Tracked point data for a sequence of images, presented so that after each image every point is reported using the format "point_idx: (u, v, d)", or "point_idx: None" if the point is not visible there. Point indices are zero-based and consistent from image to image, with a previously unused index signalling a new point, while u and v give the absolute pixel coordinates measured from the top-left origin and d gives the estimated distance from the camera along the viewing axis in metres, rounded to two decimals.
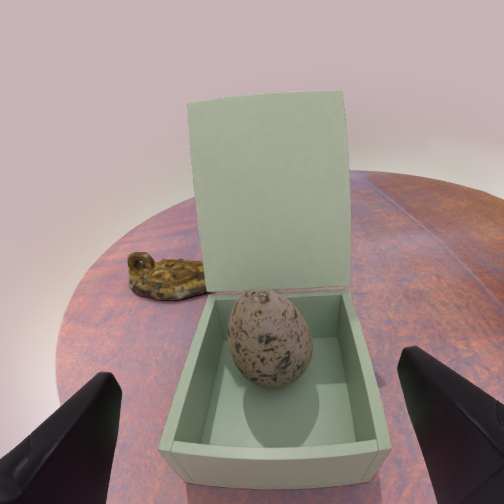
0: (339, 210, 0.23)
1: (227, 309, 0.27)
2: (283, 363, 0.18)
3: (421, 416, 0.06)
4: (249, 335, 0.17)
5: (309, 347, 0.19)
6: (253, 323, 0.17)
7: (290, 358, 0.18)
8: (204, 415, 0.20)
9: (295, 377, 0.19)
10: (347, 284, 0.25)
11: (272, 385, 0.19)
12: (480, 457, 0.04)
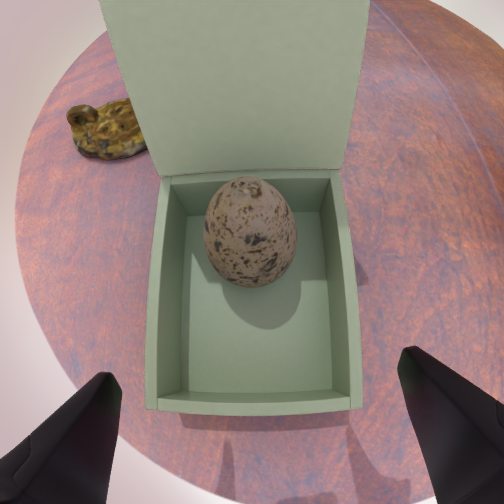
0: (341, 83, 0.14)
1: (186, 191, 0.21)
2: (268, 265, 0.17)
3: (421, 416, 0.06)
4: (234, 234, 0.15)
5: (295, 246, 0.18)
6: (241, 221, 0.14)
7: (276, 260, 0.17)
8: (178, 328, 0.21)
9: (276, 278, 0.19)
10: (338, 167, 0.19)
11: (251, 286, 0.19)
12: (480, 457, 0.04)
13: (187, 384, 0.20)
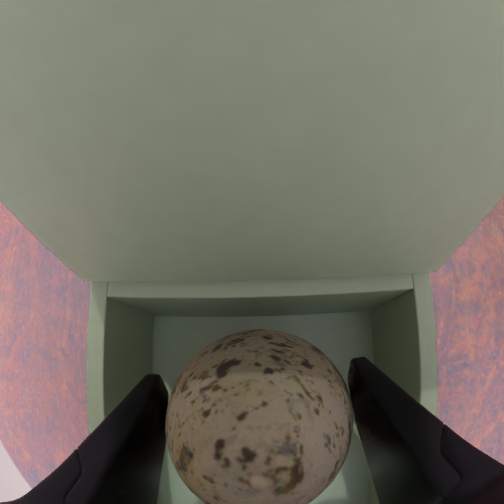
0: None
1: (140, 303, 0.11)
2: None
3: (366, 432, 0.06)
4: None
5: None
6: None
7: None
8: None
9: None
10: (433, 270, 0.09)
11: None
12: (417, 486, 0.04)
13: None
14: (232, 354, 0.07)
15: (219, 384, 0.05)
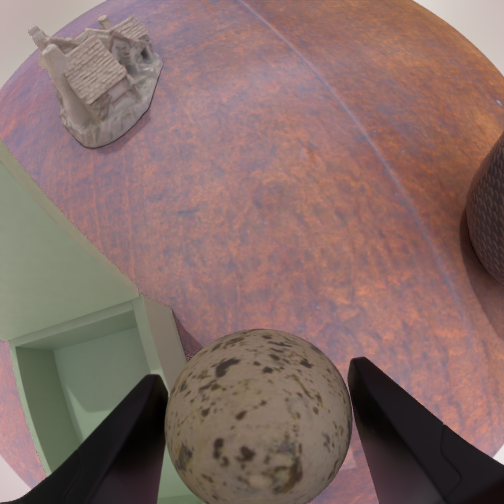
0: (54, 247, 0.10)
1: (31, 345, 0.17)
2: None
3: (366, 432, 0.06)
4: None
5: None
6: None
7: None
8: None
9: None
10: (135, 297, 0.16)
11: None
12: (417, 487, 0.04)
13: None
14: (231, 353, 0.07)
15: (218, 383, 0.05)
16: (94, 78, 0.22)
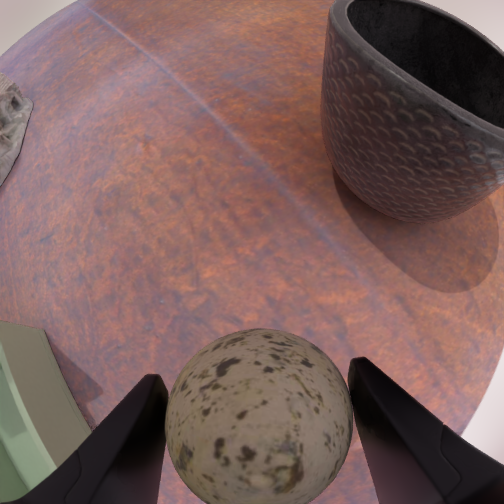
0: None
1: None
2: None
3: (366, 432, 0.06)
4: None
5: None
6: None
7: None
8: (16, 478, 0.13)
9: None
10: None
11: None
12: (417, 487, 0.04)
13: None
14: (232, 353, 0.07)
15: (219, 383, 0.05)
16: None
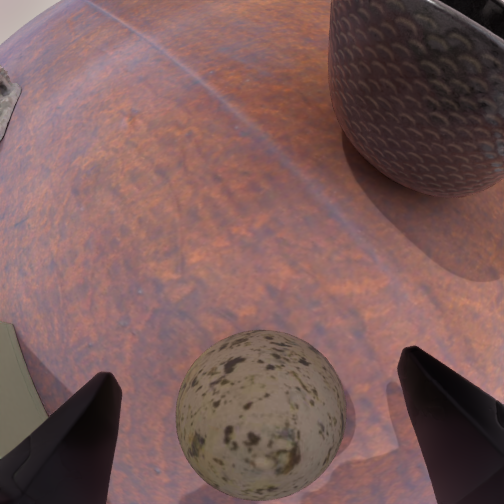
0: None
1: None
2: None
3: (421, 416, 0.06)
4: (236, 497, 0.05)
5: None
6: (250, 497, 0.05)
7: None
8: None
9: None
10: None
11: None
12: (480, 458, 0.04)
13: None
14: (237, 352, 0.07)
15: (227, 379, 0.06)
16: None
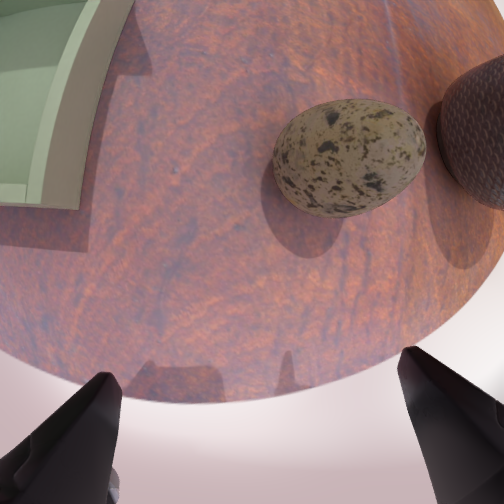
0: None
1: None
2: (344, 208, 0.13)
3: (421, 416, 0.06)
4: (365, 160, 0.10)
5: None
6: (388, 157, 0.09)
7: (354, 210, 0.13)
8: None
9: (323, 217, 0.15)
10: None
11: (295, 203, 0.15)
12: (480, 457, 0.04)
13: None
14: None
15: None
16: None
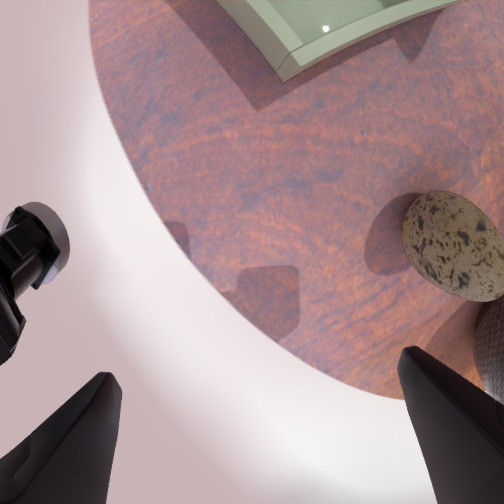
0: None
1: None
2: (431, 271, 0.15)
3: (421, 416, 0.06)
4: (473, 267, 0.12)
5: None
6: (483, 279, 0.11)
7: (433, 278, 0.15)
8: None
9: (410, 259, 0.17)
10: None
11: (408, 235, 0.17)
12: (480, 457, 0.04)
13: None
14: None
15: None
16: None
